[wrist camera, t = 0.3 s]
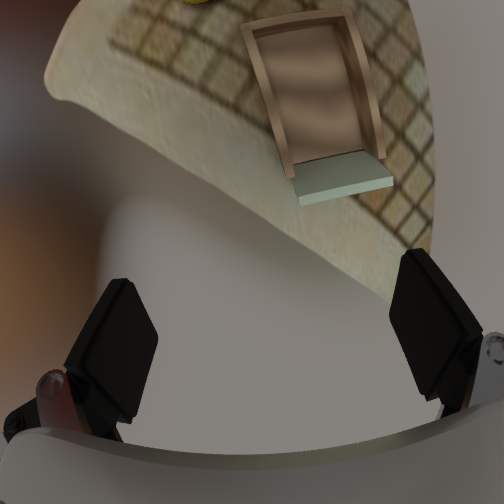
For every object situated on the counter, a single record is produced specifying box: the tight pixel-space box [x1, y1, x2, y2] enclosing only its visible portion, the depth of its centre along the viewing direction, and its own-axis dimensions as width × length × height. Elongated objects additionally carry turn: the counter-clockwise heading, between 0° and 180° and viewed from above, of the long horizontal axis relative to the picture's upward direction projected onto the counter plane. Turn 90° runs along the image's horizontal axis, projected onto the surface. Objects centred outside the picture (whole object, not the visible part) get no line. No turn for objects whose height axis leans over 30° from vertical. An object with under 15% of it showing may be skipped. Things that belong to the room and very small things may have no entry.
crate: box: [239, 8, 386, 179], centre depth 27 cm, size 18×12×6 cm, turn 16°
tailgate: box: [291, 150, 393, 206], centre depth 31 cm, size 1×11×8 cm, turn 106°
